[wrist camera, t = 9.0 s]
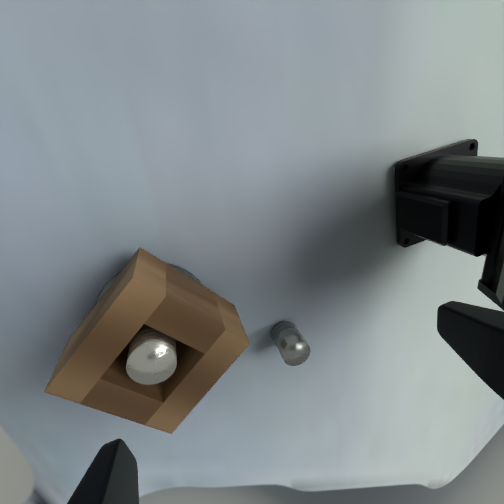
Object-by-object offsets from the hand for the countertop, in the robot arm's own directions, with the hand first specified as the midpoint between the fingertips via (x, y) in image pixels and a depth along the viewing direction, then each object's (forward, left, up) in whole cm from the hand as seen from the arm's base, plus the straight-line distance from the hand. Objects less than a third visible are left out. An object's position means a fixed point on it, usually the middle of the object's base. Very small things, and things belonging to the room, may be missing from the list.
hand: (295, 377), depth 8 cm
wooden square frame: (+5, +4, -11) cm, 13 cm away
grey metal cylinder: (-3, +9, -12) cm, 15 cm away
